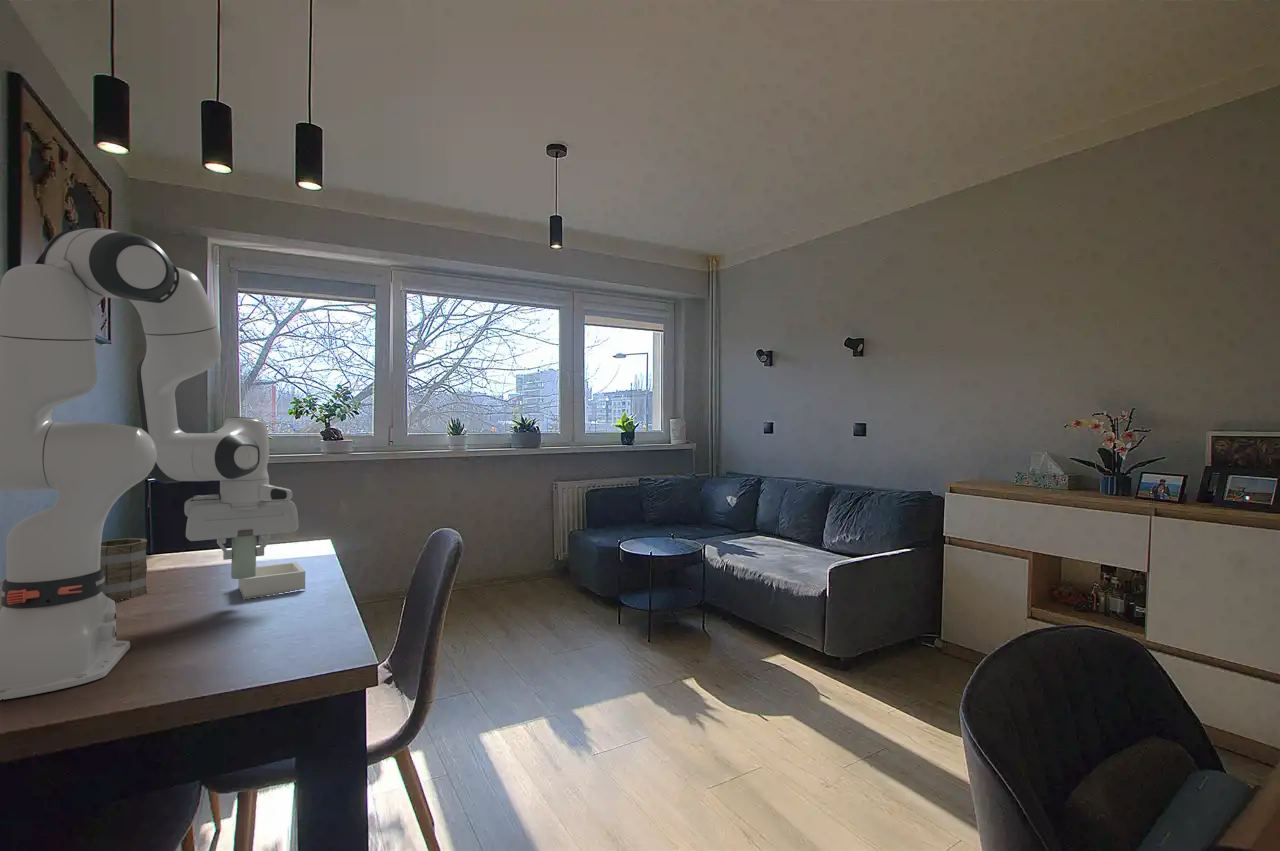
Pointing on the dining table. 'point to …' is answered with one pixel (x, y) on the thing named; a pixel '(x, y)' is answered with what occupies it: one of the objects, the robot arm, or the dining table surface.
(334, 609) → the dining table surface
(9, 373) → the robot arm
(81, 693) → the dining table surface
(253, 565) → the spice jar
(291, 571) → the bin
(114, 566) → the mug
